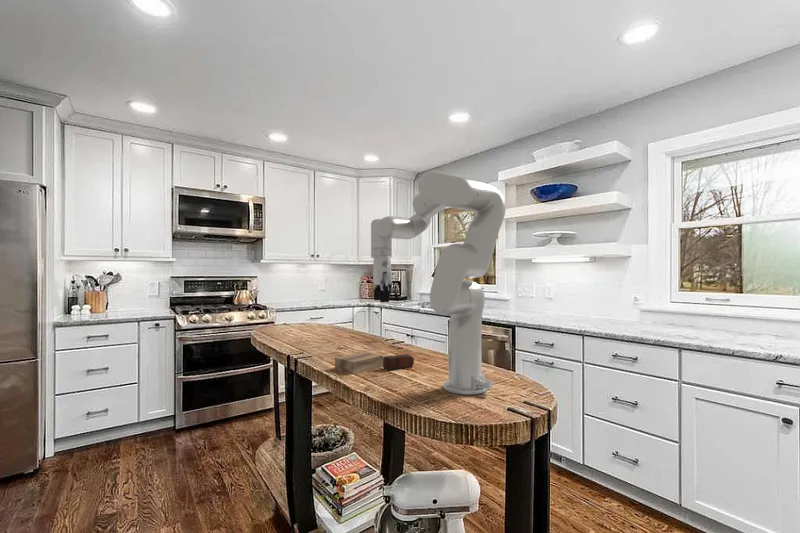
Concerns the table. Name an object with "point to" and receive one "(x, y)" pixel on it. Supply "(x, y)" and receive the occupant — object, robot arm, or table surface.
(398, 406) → the table surface
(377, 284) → the robot arm
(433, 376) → the table surface
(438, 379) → the table surface
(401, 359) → the brick
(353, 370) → the base block
